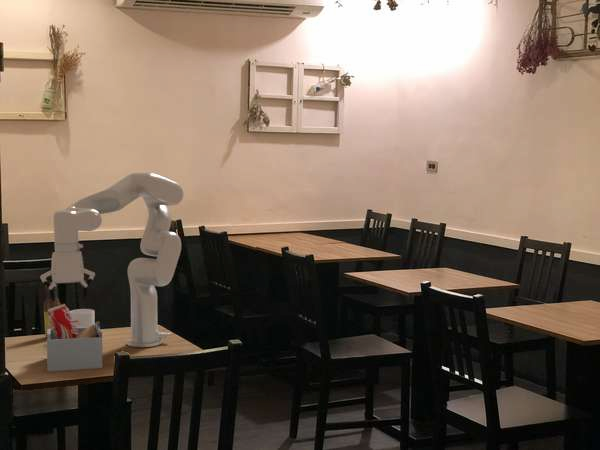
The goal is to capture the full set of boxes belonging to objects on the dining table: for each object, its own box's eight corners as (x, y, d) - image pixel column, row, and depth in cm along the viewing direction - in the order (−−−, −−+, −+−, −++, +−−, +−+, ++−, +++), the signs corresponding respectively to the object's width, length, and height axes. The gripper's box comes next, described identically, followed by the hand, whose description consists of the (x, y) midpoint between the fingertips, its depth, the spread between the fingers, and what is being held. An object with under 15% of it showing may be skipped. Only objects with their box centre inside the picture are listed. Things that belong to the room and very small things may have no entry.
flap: (94, 326, 272) (93, 323, 272) (96, 335, 258) (95, 332, 257) (59, 344, 269) (58, 342, 269) (59, 355, 255) (57, 352, 254)
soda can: (73, 342, 258) (60, 308, 257) (54, 347, 260) (41, 313, 258) (83, 334, 265) (70, 301, 263) (64, 339, 267) (52, 306, 265)
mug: (98, 338, 299) (98, 309, 299) (88, 344, 291) (88, 314, 290) (69, 337, 302) (68, 308, 301) (57, 342, 293) (57, 312, 292)
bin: (99, 354, 275) (99, 321, 274) (102, 367, 257) (102, 332, 257) (48, 358, 270) (47, 324, 269) (47, 371, 253) (46, 335, 252)
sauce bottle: (63, 335, 305) (62, 283, 303) (61, 338, 299) (60, 286, 297) (45, 335, 304) (44, 284, 302) (43, 339, 298) (42, 286, 296)
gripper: (93, 245, 266) (95, 296, 268) (39, 248, 261) (41, 299, 263) (94, 248, 259) (96, 300, 261) (38, 250, 254) (41, 303, 256)
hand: (68, 299), depth 262 cm, fingers open, 9 cm apart
